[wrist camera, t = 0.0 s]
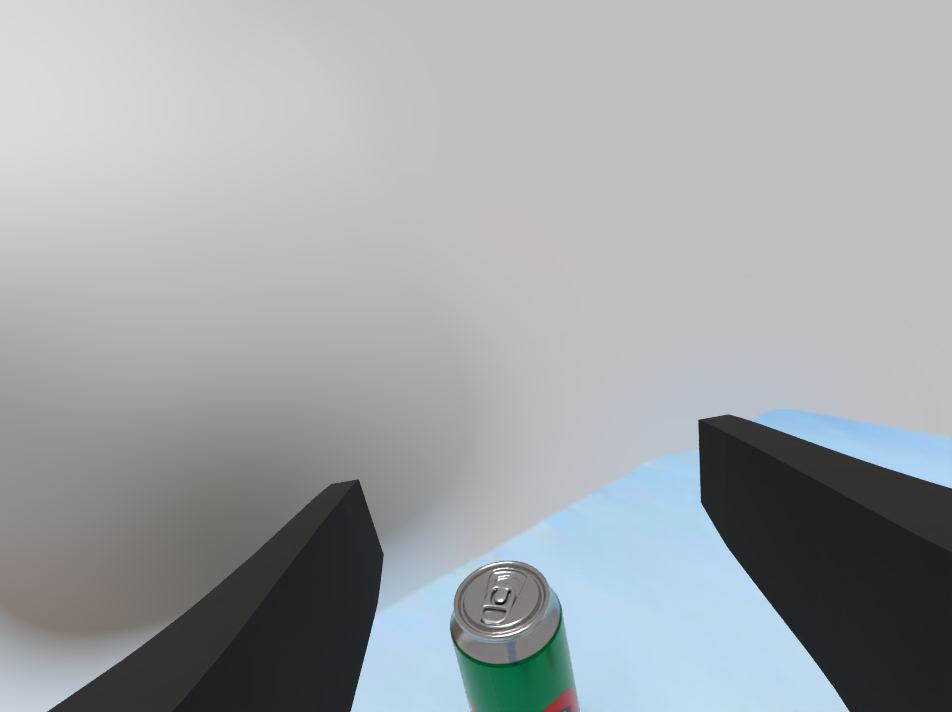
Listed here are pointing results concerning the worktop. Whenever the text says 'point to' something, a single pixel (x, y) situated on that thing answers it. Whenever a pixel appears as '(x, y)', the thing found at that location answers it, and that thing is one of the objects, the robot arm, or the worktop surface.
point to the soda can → (512, 642)
